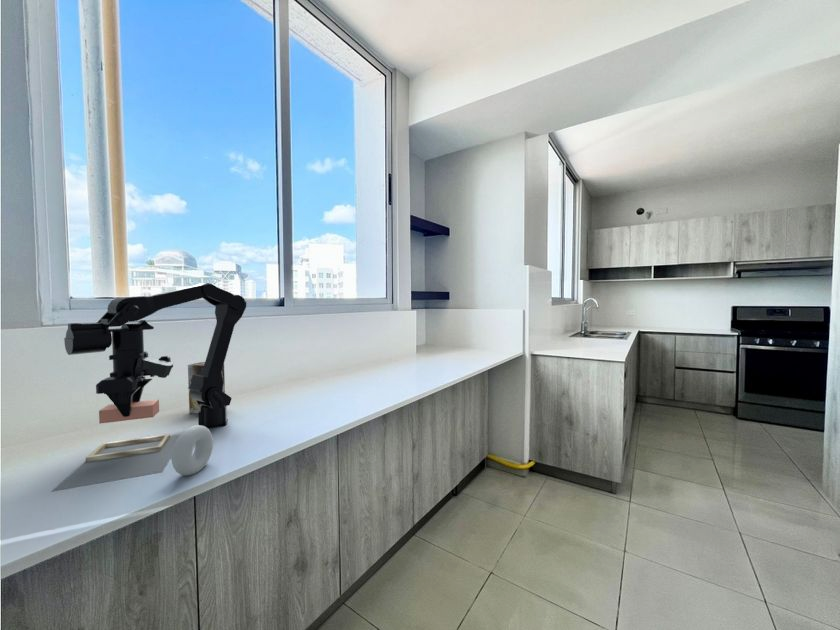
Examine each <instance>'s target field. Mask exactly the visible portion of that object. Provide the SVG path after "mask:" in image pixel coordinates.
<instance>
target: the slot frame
mask: <svg viewBox="0 0 840 630" xmlns="http://www.w3.org/2000/svg"><path fill="white" fill-rule="evenodd" d="M170 436H171V434H170V433H168V434H160V435H154V436H146V437H140V438H133V439H132V438H131V439H130V438H129V439H123V440H115V441H110V442H109V441H108V442H102V443H101V445H99V446H98V447H96V449H94V450H93V451H91V453H89V454H88V455H87V456H86V457H85V462H90V461H97V460H103V459H110V458H116V457H123V456H130V455H136V454H143V453H150V452H156V451H161V450H162V448H163V447H164V446H165V444H166V443H167V441H168V440H169V439H170ZM158 440H162V441H161V442H160V443H159V445H158V446H154V447H147V448H141V449H134V450H127V451H120V452H113V453H106V454H99V453H101V452H102V451H103V450H104V449H105V448H108V447H115V446H122V445H129V444H137V443H144V442H151V441H158ZM98 454H99V455H98Z"/></svg>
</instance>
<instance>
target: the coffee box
mask: <svg viewBox="0 0 840 630" xmlns="http://www.w3.org/2000/svg"><path fill="white" fill-rule="evenodd" d="M204 364H205V361H200V362H195V363H190V364H187V379H188V381H187V382H188V383H187V384H188V387H189V386H190V384H191V380H192V376H193V375H199V374H200V372H201V371H202V370H203V368H204ZM222 377H223V382H224V383H223V392H224V393H225V394H226V386H225V385H226V384H225V382H226V381H225V364H224V365H223V368H222ZM188 405H189V407H188V411H189V412H188V413H190V414H198V413H199V411H200V408H201V406H202V405H198V403H197V401H196V400H194V399H193V398H192V397H191V395H190V389H188Z"/></svg>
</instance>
